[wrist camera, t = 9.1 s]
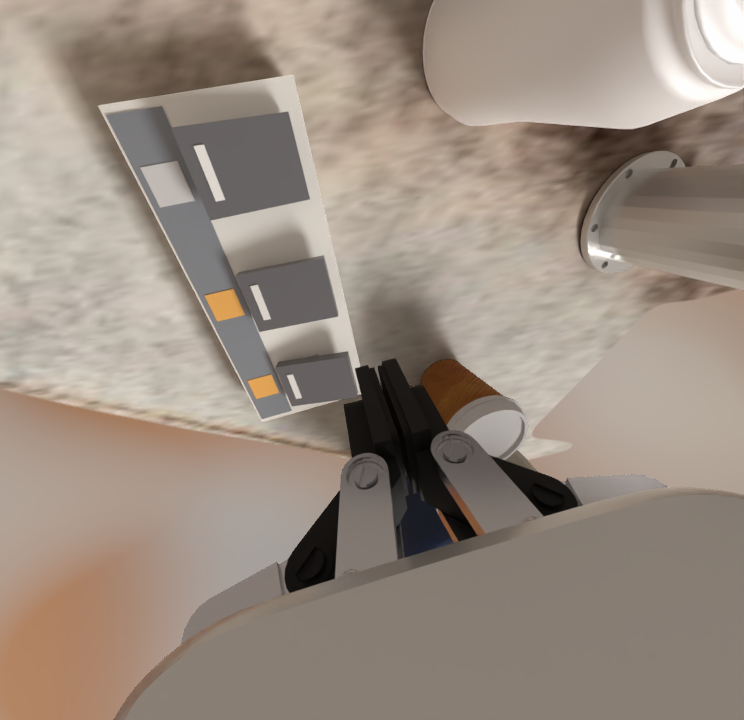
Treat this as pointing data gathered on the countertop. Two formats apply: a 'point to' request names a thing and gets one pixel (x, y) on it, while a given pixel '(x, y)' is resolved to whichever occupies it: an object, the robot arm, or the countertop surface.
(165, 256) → the countertop surface
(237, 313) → the switch unit
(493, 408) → the disposable coffee cup
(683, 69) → the white bottle
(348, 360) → the rocker
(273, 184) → the plate
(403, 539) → the canister
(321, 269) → the rocker middle
